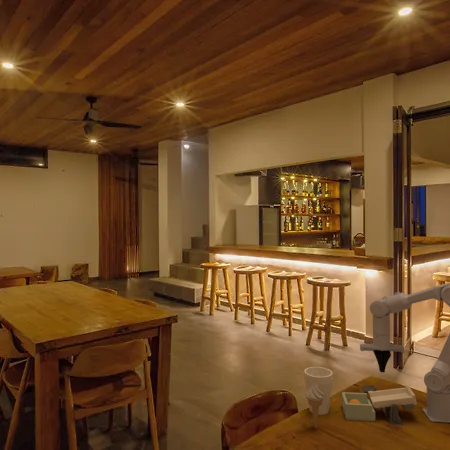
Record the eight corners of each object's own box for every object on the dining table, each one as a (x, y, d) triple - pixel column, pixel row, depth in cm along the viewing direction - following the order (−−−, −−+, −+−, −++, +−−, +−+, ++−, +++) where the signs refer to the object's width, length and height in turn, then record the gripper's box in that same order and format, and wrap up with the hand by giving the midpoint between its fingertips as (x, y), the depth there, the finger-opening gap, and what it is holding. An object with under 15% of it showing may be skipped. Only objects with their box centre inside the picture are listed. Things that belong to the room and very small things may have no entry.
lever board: (403, 389, 138) (400, 375, 138) (418, 410, 123) (415, 395, 123) (363, 394, 140) (360, 381, 140) (373, 416, 125) (370, 400, 125)
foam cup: (334, 418, 127) (333, 378, 127) (304, 416, 129) (304, 376, 128) (332, 404, 136) (331, 367, 136) (304, 402, 138) (304, 365, 138)
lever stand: (393, 407, 133) (392, 391, 133) (403, 424, 122) (402, 407, 122) (380, 407, 134) (380, 391, 134) (389, 424, 123) (389, 406, 123)
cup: (369, 408, 133) (369, 393, 133) (375, 421, 124) (375, 405, 124) (341, 406, 135) (341, 392, 135) (345, 419, 126) (345, 404, 126)
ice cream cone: (314, 435, 117) (313, 385, 117) (302, 426, 122) (301, 378, 122) (328, 430, 120) (328, 381, 119) (316, 422, 125) (315, 375, 124)
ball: (358, 396, 131) (346, 398, 132) (360, 401, 127) (348, 403, 128) (361, 407, 131) (349, 409, 132) (363, 413, 127) (351, 415, 128)
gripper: (399, 330, 142) (400, 367, 142) (358, 329, 145) (358, 366, 145) (405, 336, 135) (406, 375, 136) (361, 335, 138) (362, 373, 138)
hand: (382, 371), depth 140 cm, fingers closed
